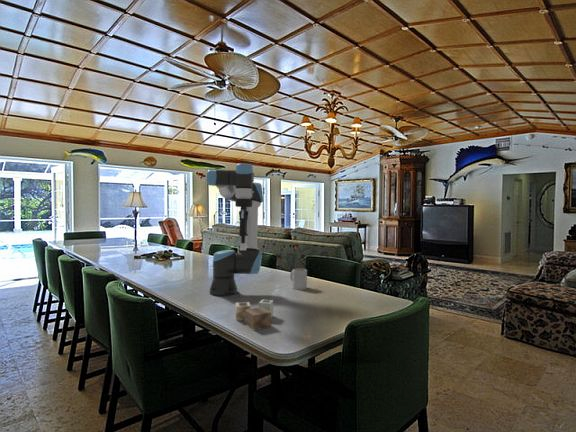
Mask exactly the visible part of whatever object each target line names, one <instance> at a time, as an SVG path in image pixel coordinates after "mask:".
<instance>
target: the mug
mask: <svg viewBox="0 0 576 432" xmlns="http://www.w3.org/2000/svg"><path fill="white" fill-rule="evenodd" d="M289 277H290V281H291V283H292V286H291V287H292V289H293V290H297V291H298V290H299V291H301V290H302V291H303V290H307V288H308V287H307V286H308V285H307V284H308V282H307V281H308V270H307V269H306V268H301V267H300V268H293V269H292V270H291V272H290V275H289Z"/></svg>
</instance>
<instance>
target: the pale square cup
mask: <svg viewBox="0 0 576 432" xmlns="http://www.w3.org/2000/svg"><path fill="white" fill-rule="evenodd" d="M260 307H263V308H265V309H266V310H268V311H270V312H271V319H272V318H273V316H274V300H273V299H261V300H260V301H259V302H258V308H260Z"/></svg>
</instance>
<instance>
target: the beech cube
mask: <svg viewBox="0 0 576 432" xmlns="http://www.w3.org/2000/svg"><path fill="white" fill-rule="evenodd" d="M251 306H252V305H251V304H250V301H243V302H235V315H236V316H235V321H236V320H237V321H242V320H241V319H245V310H247V309H252V307H251Z"/></svg>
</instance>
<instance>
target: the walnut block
mask: <svg viewBox="0 0 576 432" xmlns="http://www.w3.org/2000/svg"><path fill="white" fill-rule="evenodd" d="M246 324H247V325H248V326H249V327H248V326H247V325H246ZM244 325H246V326H247V327H248V328H250V329H251V328H252V329H256V330H260V329H259V328H262V329H266V327H267V328H271V327H272V318H271V312H270V311H268V310H266V309H265V308H263V307H260V308H259V307H255V308H251V309H247V310H245V320H244ZM252 329H251V330H252Z"/></svg>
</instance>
